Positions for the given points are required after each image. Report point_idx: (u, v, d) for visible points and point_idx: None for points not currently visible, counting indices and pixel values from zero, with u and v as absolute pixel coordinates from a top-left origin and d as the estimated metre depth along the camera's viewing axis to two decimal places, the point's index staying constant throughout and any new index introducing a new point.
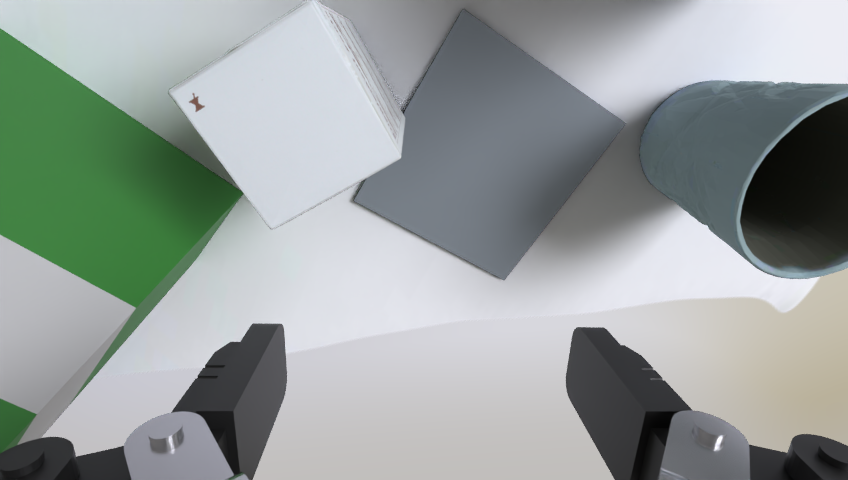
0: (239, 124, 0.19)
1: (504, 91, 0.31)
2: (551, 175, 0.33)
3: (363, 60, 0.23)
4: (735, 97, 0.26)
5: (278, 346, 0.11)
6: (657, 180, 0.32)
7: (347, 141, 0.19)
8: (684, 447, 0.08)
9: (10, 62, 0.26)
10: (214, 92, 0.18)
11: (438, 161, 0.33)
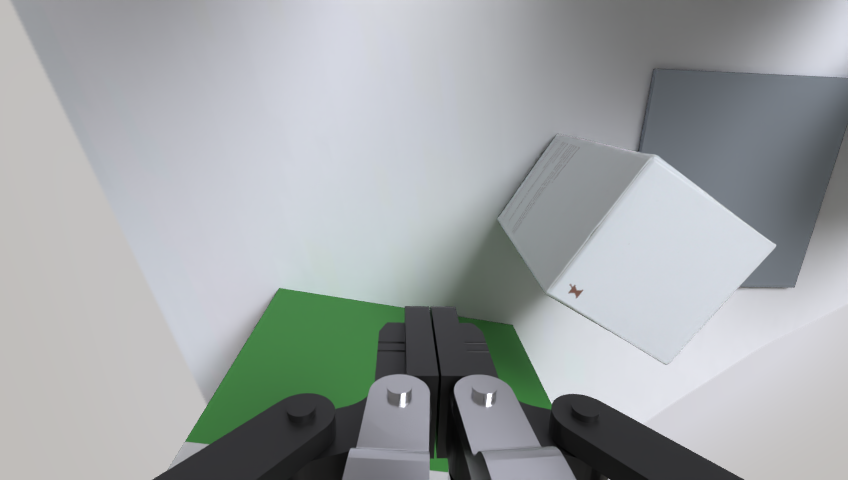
0: (617, 290, 0.19)
1: (724, 116, 0.30)
2: (803, 165, 0.31)
3: None
4: None
5: None
6: None
7: (721, 257, 0.19)
8: (475, 416, 0.08)
9: (317, 313, 0.30)
10: (588, 274, 0.19)
11: None
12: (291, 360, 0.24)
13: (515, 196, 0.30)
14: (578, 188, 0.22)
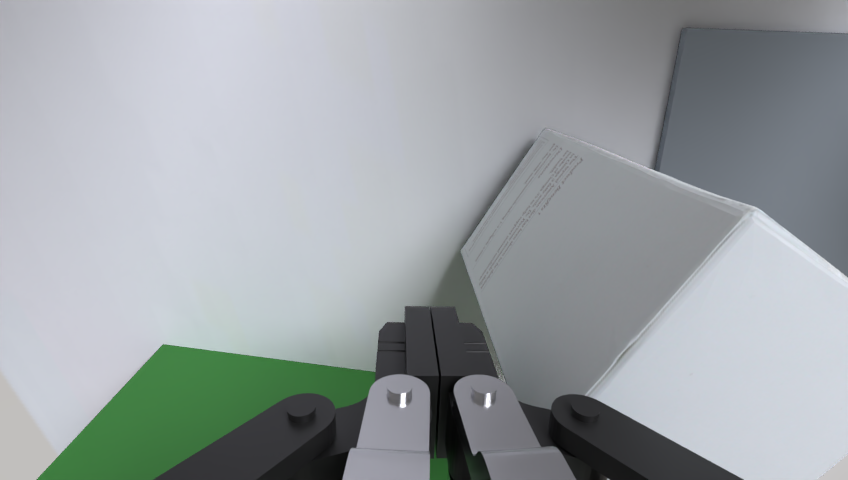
0: None
1: (784, 97, 0.20)
2: None
3: None
4: None
5: None
6: None
7: None
8: (475, 416, 0.08)
9: (204, 386, 0.21)
10: None
11: None
12: None
13: (485, 221, 0.21)
14: (586, 241, 0.13)
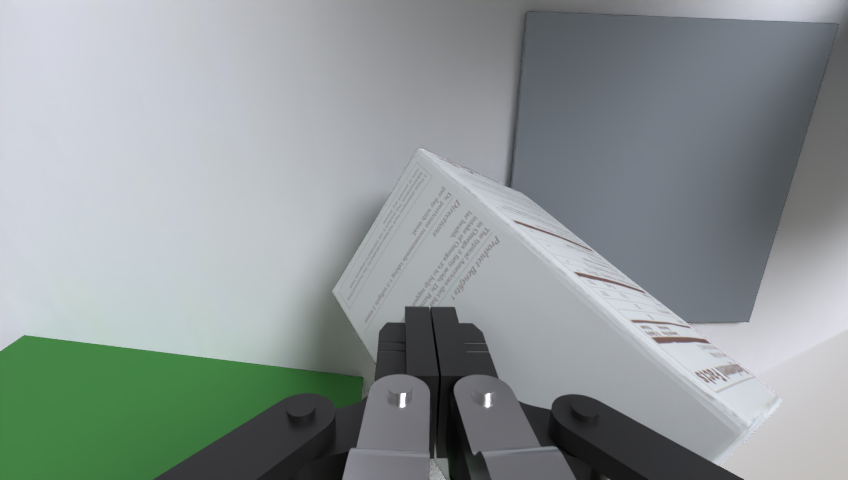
0: None
1: (635, 82, 0.20)
2: (755, 154, 0.22)
3: (598, 272, 0.14)
4: None
5: None
6: None
7: None
8: (475, 416, 0.08)
9: (51, 377, 0.21)
10: None
11: (586, 219, 0.22)
12: None
13: (361, 265, 0.17)
14: (539, 375, 0.12)
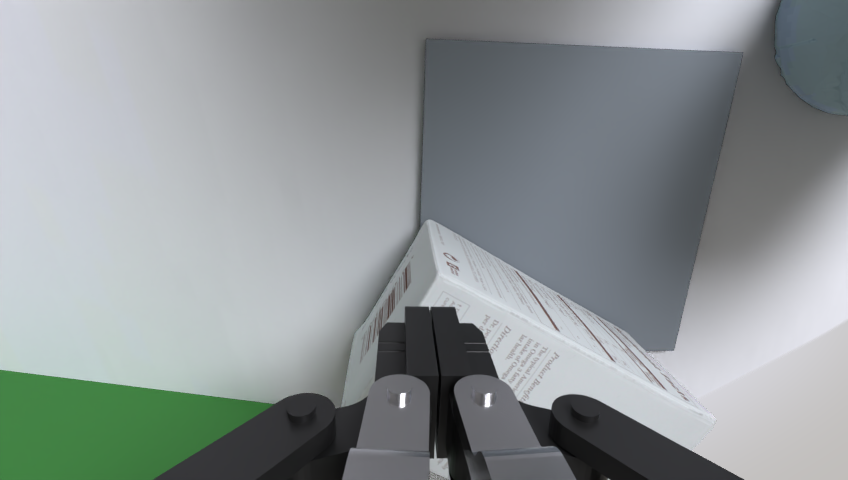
0: None
1: (540, 110, 0.20)
2: (667, 181, 0.21)
3: (581, 325, 0.18)
4: None
5: None
6: None
7: None
8: (475, 416, 0.08)
9: None
10: None
11: (499, 246, 0.22)
12: None
13: None
14: None
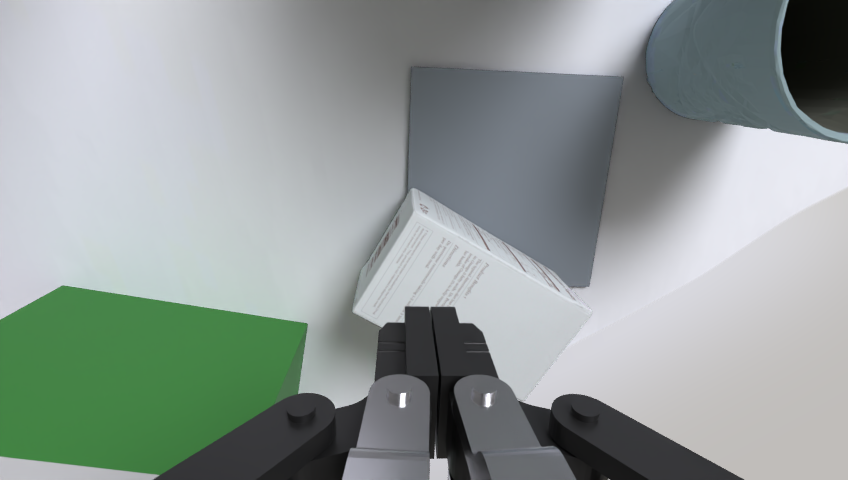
0: None
1: (488, 114, 0.30)
2: (577, 164, 0.31)
3: (510, 255, 0.28)
4: None
5: None
6: (689, 111, 0.28)
7: None
8: (475, 416, 0.08)
9: (83, 310, 0.30)
10: None
11: (462, 208, 0.32)
12: (4, 355, 0.24)
13: (382, 291, 0.25)
14: (519, 319, 0.26)
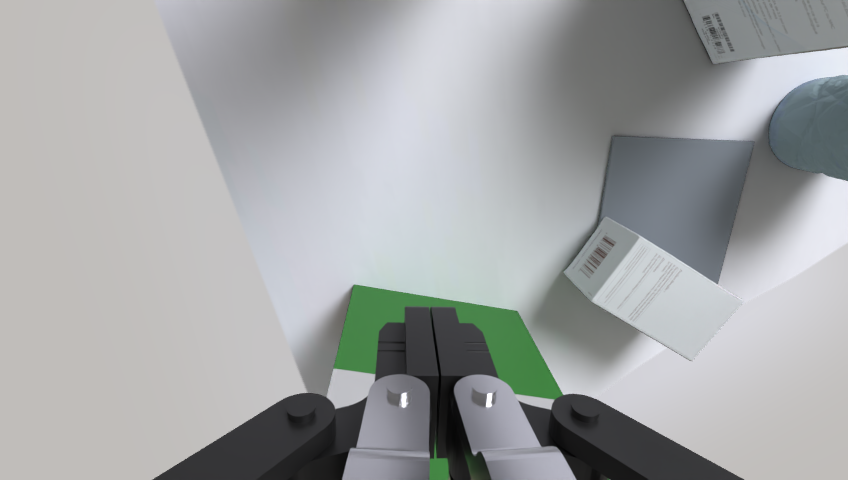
0: None
1: (661, 166, 0.44)
2: (718, 199, 0.45)
3: None
4: (835, 99, 0.37)
5: None
6: (802, 166, 0.42)
7: None
8: (476, 416, 0.08)
9: (384, 301, 0.44)
10: None
11: (636, 229, 0.45)
12: (376, 329, 0.38)
13: (613, 287, 0.39)
14: (696, 306, 0.40)
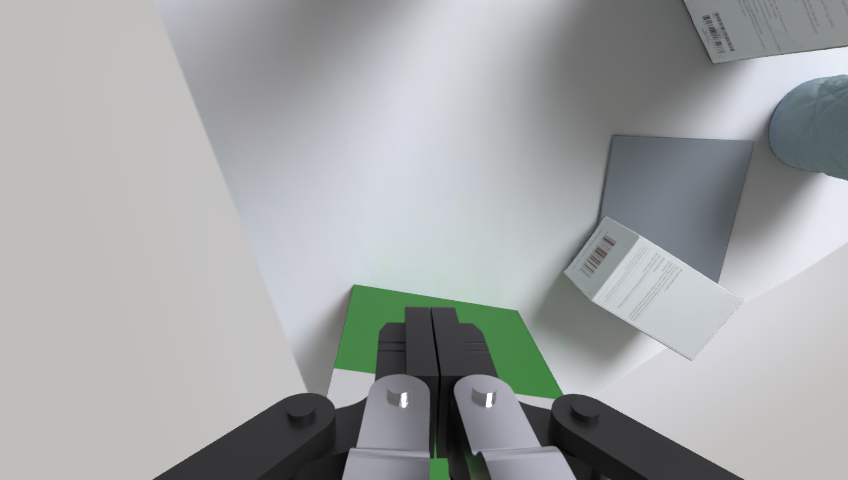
0: None
1: (661, 166, 0.44)
2: (718, 199, 0.45)
3: None
4: (835, 99, 0.37)
5: None
6: (802, 166, 0.42)
7: None
8: (476, 416, 0.08)
9: (384, 301, 0.44)
10: None
11: (636, 229, 0.45)
12: (377, 329, 0.38)
13: (613, 287, 0.39)
14: (696, 305, 0.40)
